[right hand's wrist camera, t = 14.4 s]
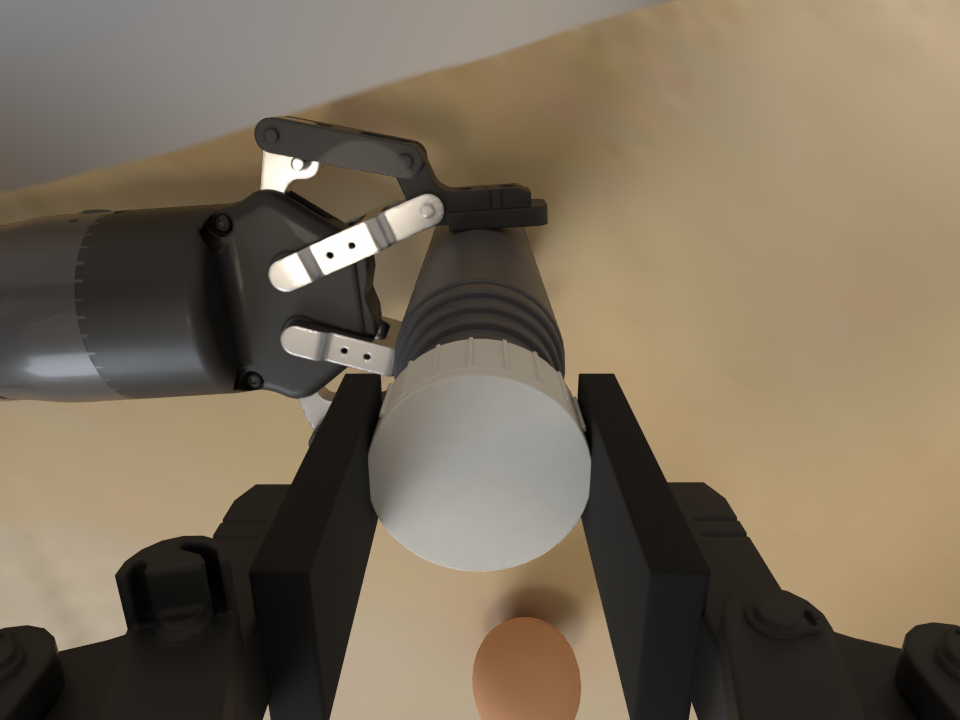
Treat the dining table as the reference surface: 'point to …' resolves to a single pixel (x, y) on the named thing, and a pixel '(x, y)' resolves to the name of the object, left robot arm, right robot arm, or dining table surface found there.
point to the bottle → (479, 297)
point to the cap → (479, 456)
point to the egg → (526, 673)
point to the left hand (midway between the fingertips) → (545, 279)
